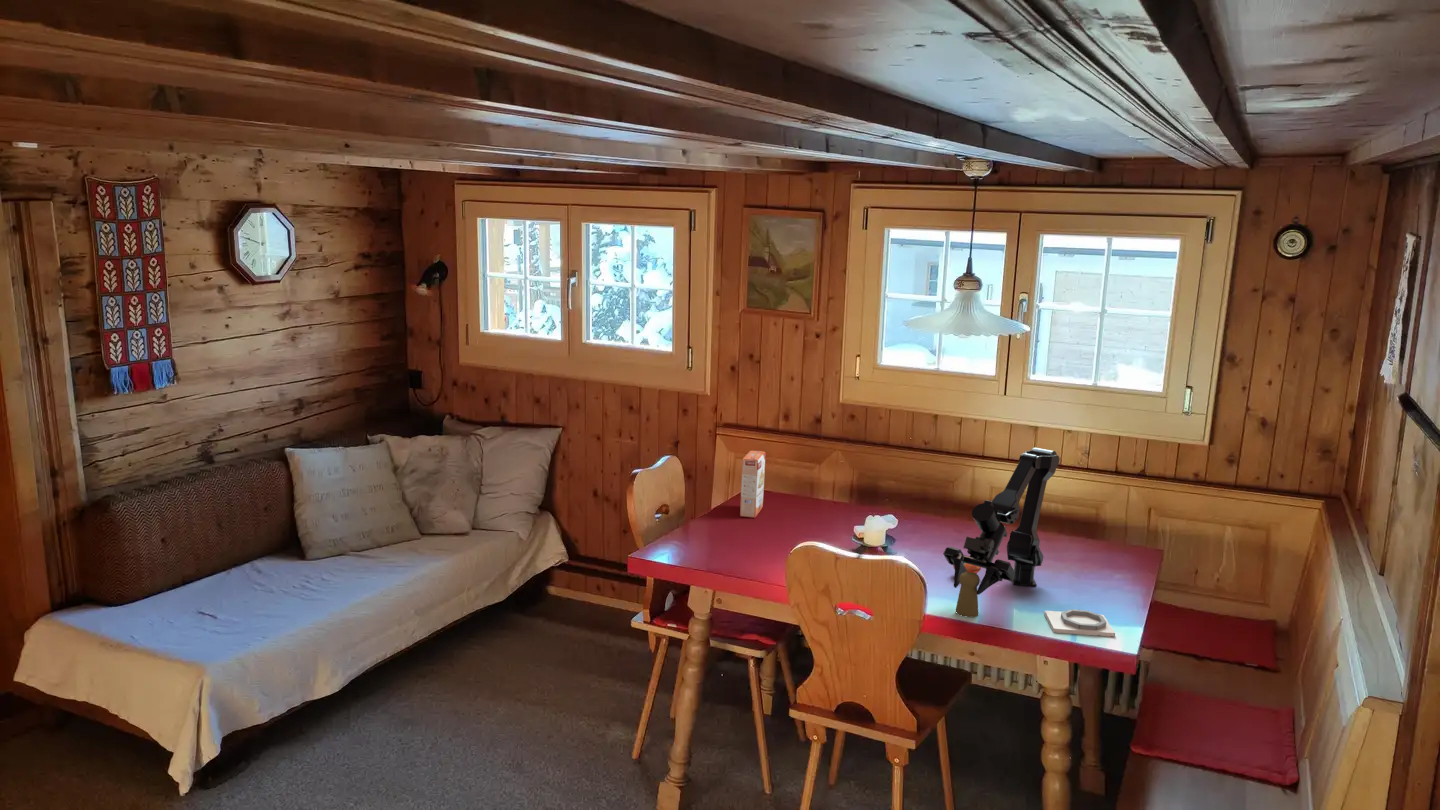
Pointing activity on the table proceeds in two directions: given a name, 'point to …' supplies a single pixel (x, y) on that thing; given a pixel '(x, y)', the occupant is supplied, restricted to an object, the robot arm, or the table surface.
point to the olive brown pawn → (968, 595)
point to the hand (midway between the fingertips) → (966, 590)
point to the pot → (971, 568)
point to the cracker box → (752, 484)
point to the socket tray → (1079, 622)
